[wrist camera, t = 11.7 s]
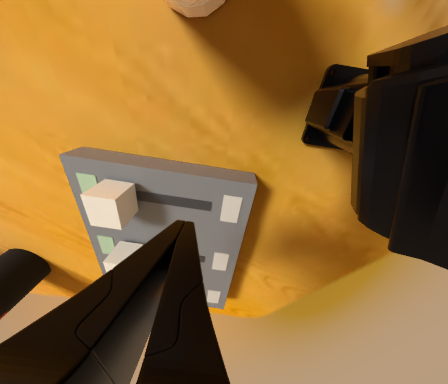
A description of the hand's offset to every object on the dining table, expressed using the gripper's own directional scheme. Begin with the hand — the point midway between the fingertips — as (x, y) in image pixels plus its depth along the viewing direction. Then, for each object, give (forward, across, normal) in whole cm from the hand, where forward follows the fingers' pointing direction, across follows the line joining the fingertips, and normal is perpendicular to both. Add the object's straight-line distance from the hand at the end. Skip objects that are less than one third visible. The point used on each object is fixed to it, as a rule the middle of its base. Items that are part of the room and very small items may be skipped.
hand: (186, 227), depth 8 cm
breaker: (+9, +9, +5) cm, 13 cm away
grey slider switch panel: (+12, +5, +14) cm, 19 cm away
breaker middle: (+9, +9, +14) cm, 19 cm away
